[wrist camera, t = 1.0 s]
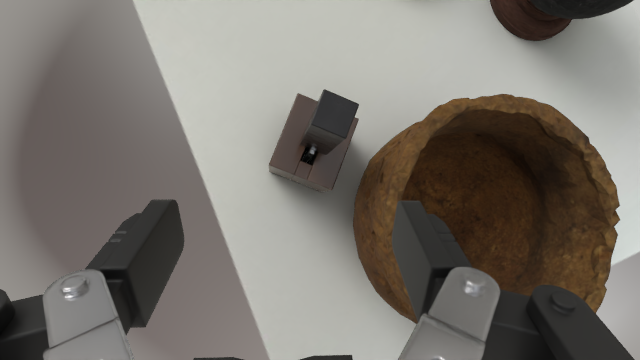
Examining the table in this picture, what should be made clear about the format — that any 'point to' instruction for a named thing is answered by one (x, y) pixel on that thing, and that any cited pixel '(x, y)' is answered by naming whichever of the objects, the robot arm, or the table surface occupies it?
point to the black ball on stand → (548, 15)
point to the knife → (328, 124)
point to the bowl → (495, 197)
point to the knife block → (290, 151)
